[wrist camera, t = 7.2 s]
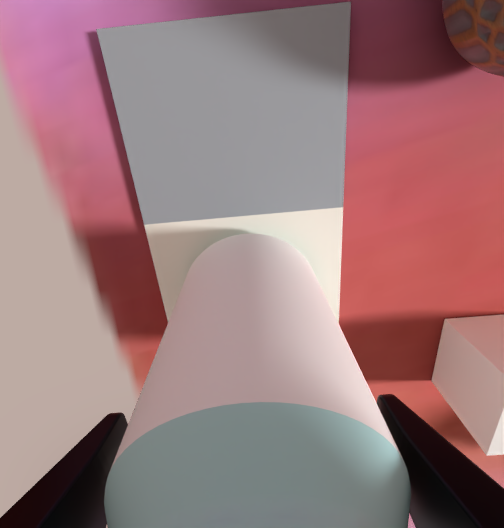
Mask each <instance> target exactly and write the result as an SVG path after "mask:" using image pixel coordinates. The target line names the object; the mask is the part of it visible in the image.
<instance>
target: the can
mask: <svg viewBox="0 0 504 528" xmlns="http://www.w3.org/2000/svg"><path fill="white" fill-rule="evenodd" d="M410 501H411V485H410V480H409V475H408V470H407V467H406V465H405V462H404V460H403V458H402V456H401V454H400V452H399V450H398V447H397V445H396V443H395V441H394V439H393V437H392V435H391V433H390V431H389V429H388V426H387V424H386V422H385V420H384V418H383V416H382V414H381V412H380V410H379V408H378V405H377V403H376V401H375V399H374V397H373V395H372V393H371V391H370V389H369V387H368V384H367V382H366V380H365V378H364V376H363V374H362V372H361V370H360V368H359V366H358V364H357V361H356V359H355V357H354V355H353V353H352V351H351V349H350V347H349V345H348V343H347V340H346V338H345V336H344V334H343V332H342V330H341V328H340V326H339V324H338V322H337V319H336V317H335V315H334V313H333V311H332V309H331V307H330V305H329V303H328V301H327V298H326V296H325V294H324V292H323V290H322V288H321V286H320V284H319V282H318V280H317V278H316V275H315V273H314V271H313V269H312V267H311V265H310V264H309V262H308V261H307V259H306V258H305V257H304V256H303V255H302V253H301V252H299V251H298V250H297V249H296V248H295V247H293V246H292V245H290V244H289V243H287V242H285V241H283V240H281V239H278V238H275V237H273V236H268V235H263V234H240V235H234V236H230V237H227V238H224V239H222V240H220V241H218V242H216V243H214V244H212V245H211V246H209V247H208V248H207V249H205V250H204V251H203V252H202V253H201V254H200V255H199V256H198V257H197V258H196V260H195V261H194V262H193V264H192V266H191V267H190V269H189V271H188V274H187V276H186V279H185V281H184V284H183V286H182V289H181V292H180V294H179V297H178V299H177V302H176V304H175V307H174V309H173V312H172V314H171V317H170V320H169V322H168V325H167V327H166V330H165V332H164V335H163V337H162V340H161V342H160V345H159V347H158V350H157V353H156V355H155V358H154V360H153V363H152V365H151V368H150V370H149V373H148V375H147V378H146V381H145V383H144V386H143V388H142V391H141V393H140V396H139V398H138V401H137V403H136V406H135V409H134V411H133V414H132V416H131V419H130V421H129V424H128V426H127V429H126V431H125V434H124V437H123V439H122V442H121V444H120V447H119V449H118V452H117V454H116V457H115V459H114V462H113V464H112V467H111V470H110V472H109V475H108V478H107V482H106V487H105V496H104V507H105V514H106V520H107V525H108V528H408V519H409V510H410Z"/></svg>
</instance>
